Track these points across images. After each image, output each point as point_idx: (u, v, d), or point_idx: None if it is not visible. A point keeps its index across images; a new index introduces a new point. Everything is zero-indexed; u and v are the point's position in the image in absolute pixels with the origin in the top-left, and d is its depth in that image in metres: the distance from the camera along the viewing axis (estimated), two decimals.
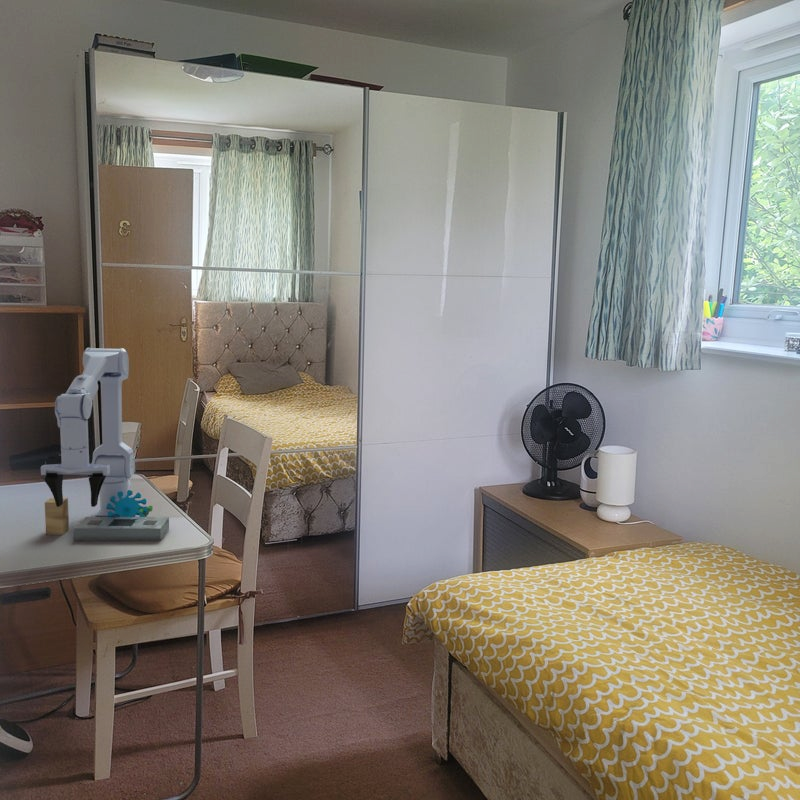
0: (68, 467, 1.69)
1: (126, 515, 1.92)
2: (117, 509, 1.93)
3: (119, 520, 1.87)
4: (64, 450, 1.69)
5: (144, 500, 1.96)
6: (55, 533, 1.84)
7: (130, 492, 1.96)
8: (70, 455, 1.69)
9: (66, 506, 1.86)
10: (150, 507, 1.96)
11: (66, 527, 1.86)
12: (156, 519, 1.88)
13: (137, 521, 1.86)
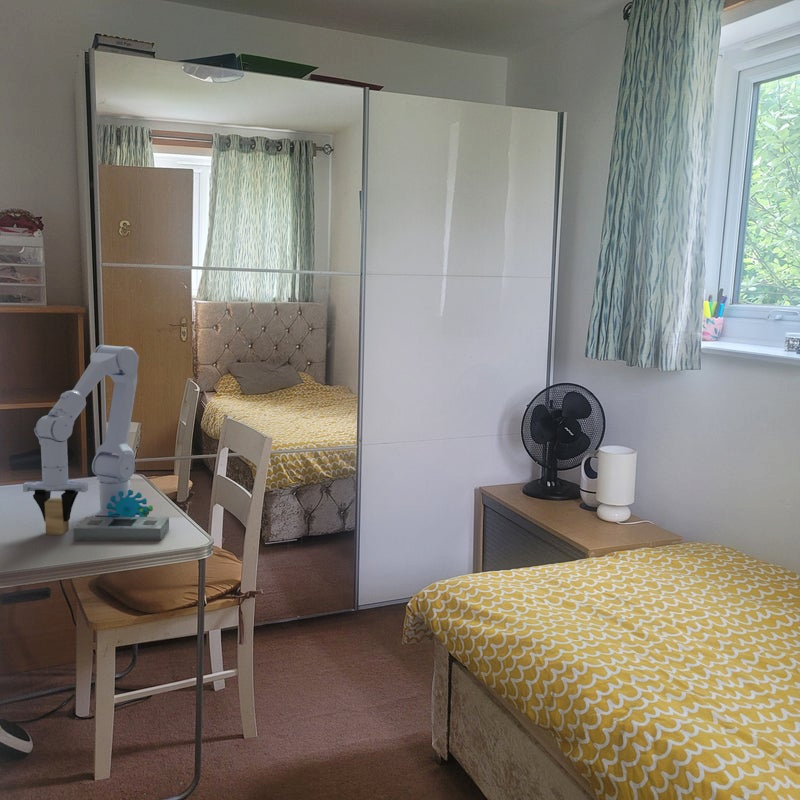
0: (48, 485, 1.81)
1: (126, 515, 1.93)
2: (118, 509, 1.93)
3: (119, 520, 1.87)
4: (44, 469, 1.81)
5: (144, 500, 1.96)
6: (55, 533, 1.84)
7: (131, 492, 1.97)
8: (50, 473, 1.81)
9: None
10: (150, 507, 1.96)
11: (66, 527, 1.86)
12: (156, 519, 1.88)
13: (137, 521, 1.86)
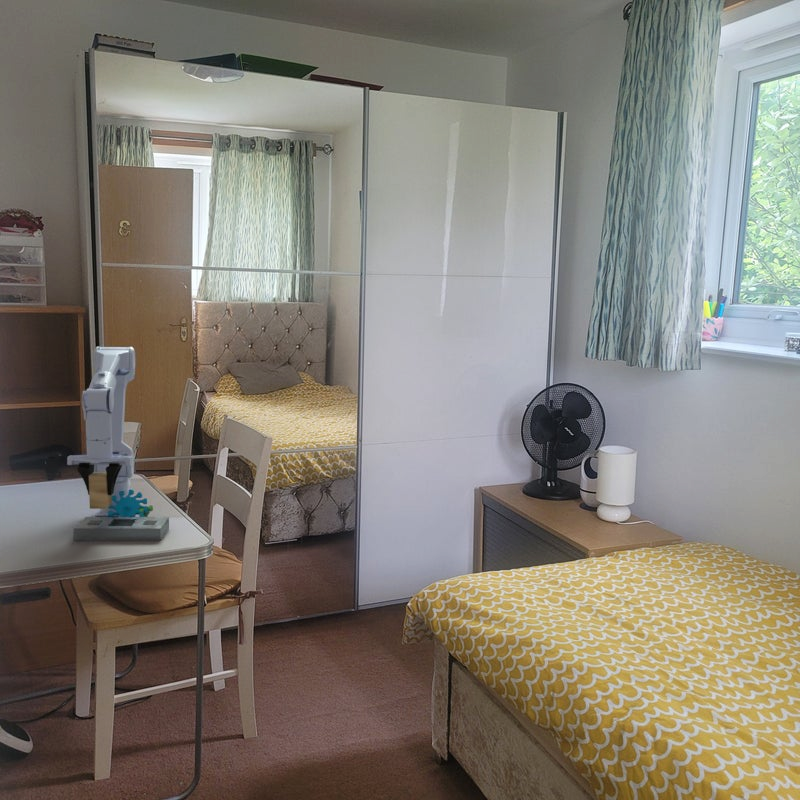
0: (93, 457, 1.80)
1: (126, 514, 1.93)
2: (118, 508, 1.93)
3: (119, 520, 1.87)
4: (89, 441, 1.79)
5: (145, 500, 1.97)
6: (99, 507, 1.82)
7: (131, 491, 1.97)
8: (95, 446, 1.79)
9: None
10: (150, 507, 1.96)
11: (110, 502, 1.85)
12: (156, 519, 1.88)
13: (137, 521, 1.86)
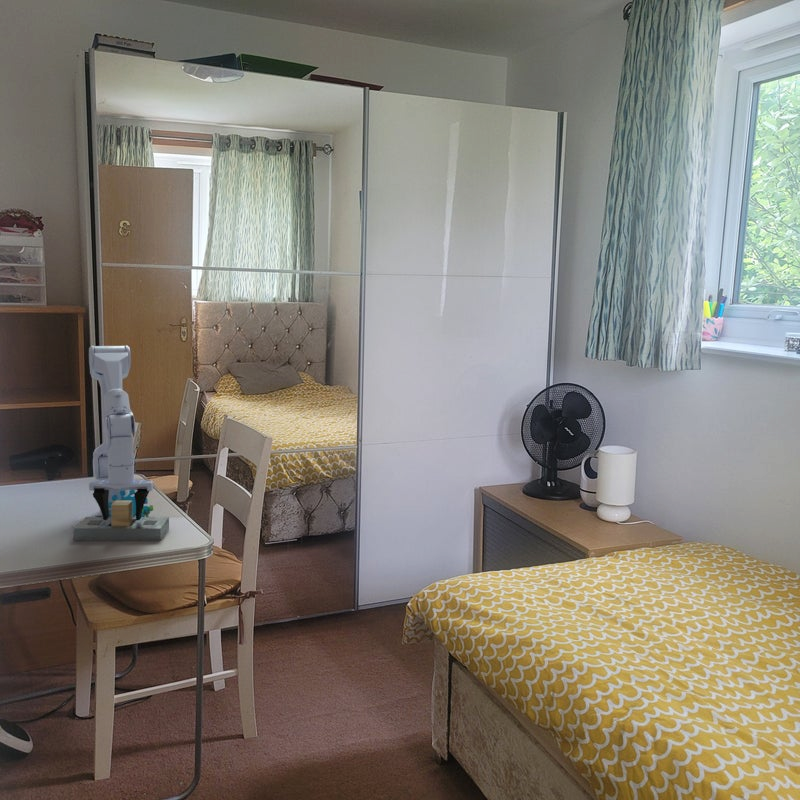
0: (115, 483, 1.80)
1: None
2: None
3: None
4: (111, 467, 1.80)
5: None
6: None
7: (132, 491, 1.97)
8: (117, 472, 1.80)
9: (131, 509, 1.85)
10: (151, 507, 1.96)
11: None
12: (156, 519, 1.88)
13: (137, 521, 1.86)
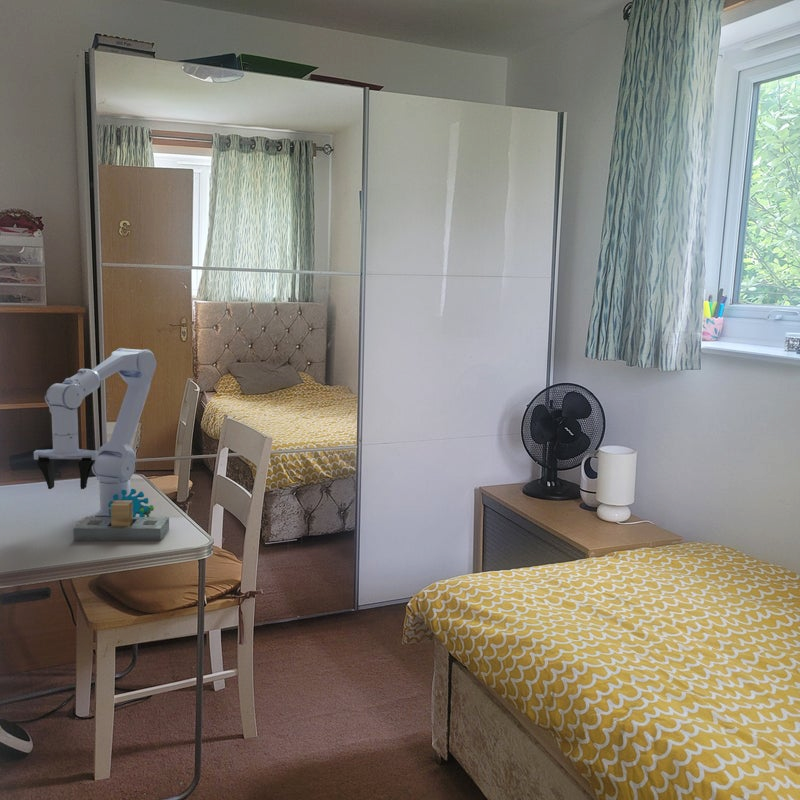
0: (59, 452, 1.82)
1: None
2: None
3: None
4: (55, 436, 1.82)
5: (146, 499, 1.97)
6: None
7: (133, 491, 1.98)
8: (60, 441, 1.82)
9: (131, 509, 1.85)
10: (151, 506, 1.96)
11: None
12: (156, 519, 1.88)
13: (137, 521, 1.86)
